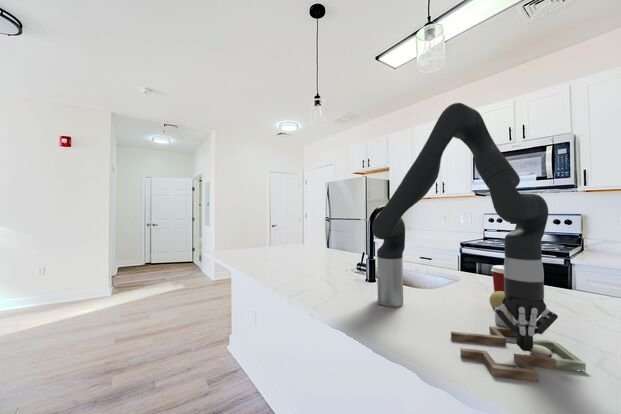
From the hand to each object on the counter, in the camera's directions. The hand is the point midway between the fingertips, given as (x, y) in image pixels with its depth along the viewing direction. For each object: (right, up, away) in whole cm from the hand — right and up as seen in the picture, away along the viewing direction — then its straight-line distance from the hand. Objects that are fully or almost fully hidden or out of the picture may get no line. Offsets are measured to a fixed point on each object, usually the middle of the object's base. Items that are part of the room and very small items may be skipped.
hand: (524, 349), depth 65 cm
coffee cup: (+16, -2, +28) cm, 32 cm away
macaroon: (+4, -2, 0) cm, 4 cm away
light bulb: (+7, -2, +17) cm, 18 cm away
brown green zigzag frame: (-4, -1, +1) cm, 4 cm away
